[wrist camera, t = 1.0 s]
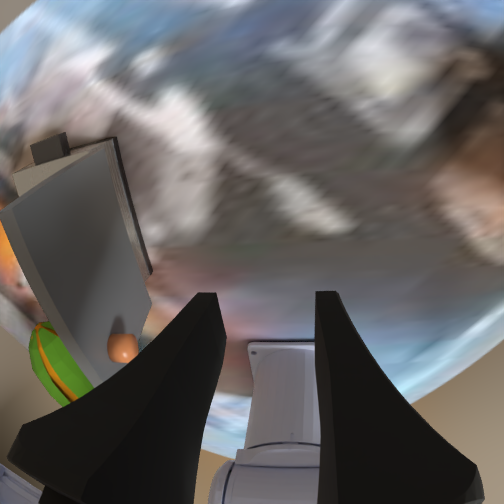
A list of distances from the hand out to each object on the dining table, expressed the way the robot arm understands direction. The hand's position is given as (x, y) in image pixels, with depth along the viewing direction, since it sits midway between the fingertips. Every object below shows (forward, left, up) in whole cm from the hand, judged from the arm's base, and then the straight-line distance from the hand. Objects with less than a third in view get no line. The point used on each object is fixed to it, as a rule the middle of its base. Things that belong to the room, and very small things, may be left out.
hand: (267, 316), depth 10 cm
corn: (-19, +21, -10) cm, 30 cm away
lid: (0, +9, -3) cm, 10 cm away
